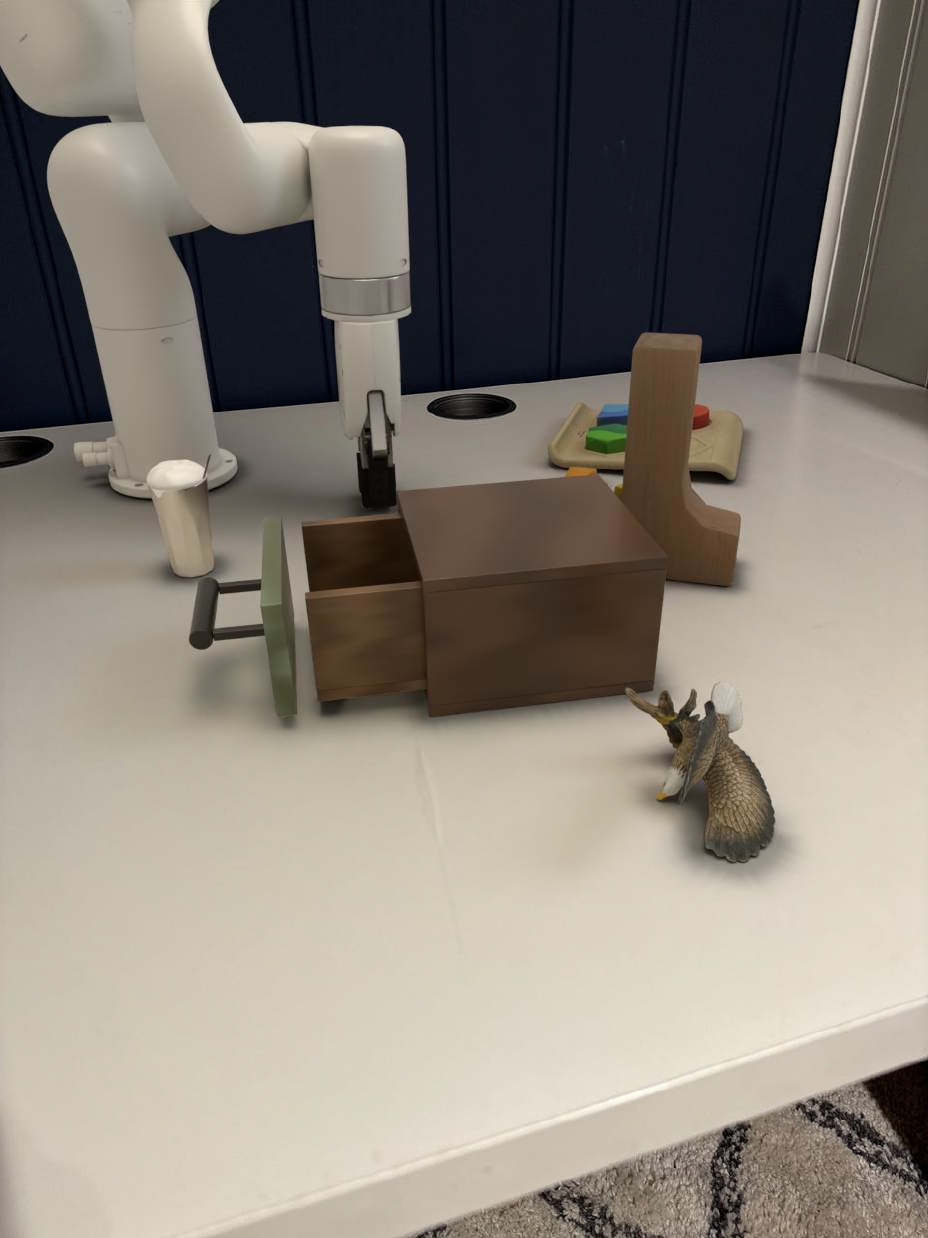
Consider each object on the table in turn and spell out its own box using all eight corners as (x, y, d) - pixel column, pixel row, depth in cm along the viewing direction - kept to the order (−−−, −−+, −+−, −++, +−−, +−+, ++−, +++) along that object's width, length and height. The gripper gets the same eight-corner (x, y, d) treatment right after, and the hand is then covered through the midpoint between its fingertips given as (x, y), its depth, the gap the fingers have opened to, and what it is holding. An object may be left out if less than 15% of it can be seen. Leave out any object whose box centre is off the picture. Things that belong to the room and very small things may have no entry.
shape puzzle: (578, 416, 106) (579, 387, 105) (743, 429, 101) (747, 399, 100) (525, 496, 86) (525, 462, 84) (729, 517, 80) (734, 482, 79)
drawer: (197, 727, 54) (174, 614, 50) (211, 623, 64) (192, 523, 60) (495, 692, 56) (495, 582, 52) (461, 598, 67) (459, 500, 63)
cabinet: (429, 717, 56) (423, 580, 51) (403, 610, 67) (396, 490, 62) (653, 690, 58) (668, 556, 53) (591, 591, 69) (598, 473, 64)
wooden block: (734, 562, 73) (768, 336, 64) (731, 588, 69) (767, 352, 60) (623, 550, 75) (640, 330, 66) (615, 574, 72) (632, 345, 62)
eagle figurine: (586, 746, 51) (647, 833, 43) (653, 640, 50) (729, 708, 41) (689, 793, 53) (766, 884, 45) (755, 694, 52) (847, 768, 44)
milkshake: (217, 584, 71) (196, 465, 66) (155, 579, 72) (130, 461, 67) (240, 559, 75) (222, 444, 70) (181, 554, 76) (159, 441, 71)
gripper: (316, 278, 81) (333, 470, 90) (324, 317, 67) (342, 539, 77) (399, 275, 82) (406, 465, 92) (423, 313, 68) (429, 532, 78)
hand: (377, 497), depth 84 cm, fingers closed on glue stick, 2 cm apart
